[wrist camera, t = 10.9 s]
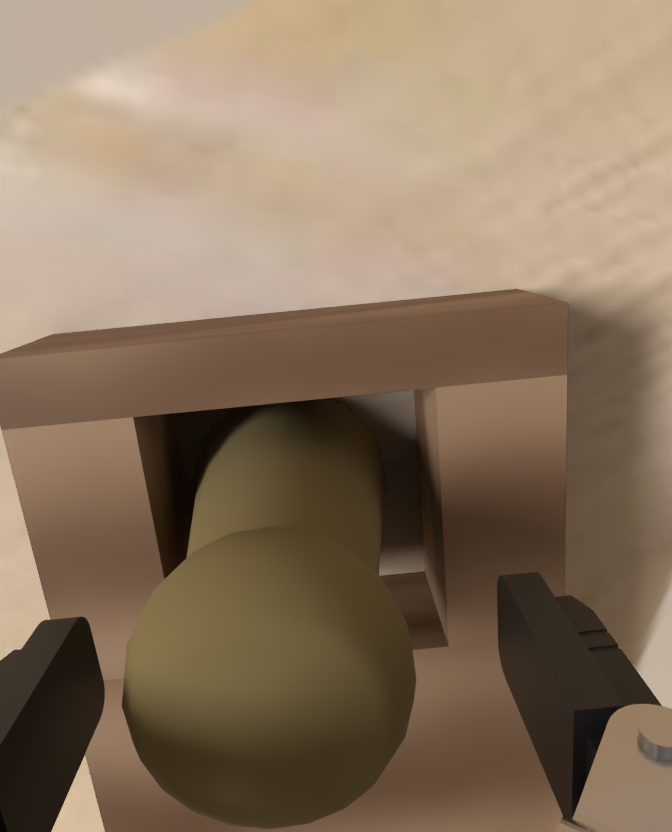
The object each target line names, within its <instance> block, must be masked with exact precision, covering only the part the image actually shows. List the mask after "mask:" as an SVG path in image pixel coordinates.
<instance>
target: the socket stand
mask: <svg viewBox="0 0 672 832" xmlns="http://www.w3.org/2000/svg"><path fill="white" fill-rule="evenodd" d="M567 356H568V303H565V302H561V301H558V300H554V299H550V298H547V297H543V296H540V295H536V294H532V293H529V292H525V291H521V290H518V289H513V290H503V291H493V292H483V293H472V294H462V295H452V296H442V297H431V298H421V299H411V300H401V301H390V302H380V303H370V304H359V305H349V306H339V307H329V308H318V309H308V310H298V311H288V312H277V313H267V314H257V315H247V316H236V317H226V318H216V319H206V320H195V321H185V322H175V323H165V324H154V325H144V326H134V327H124V328H113V329H103V330H93V331H83V332H72V333H62V334H52V335H50V336H47V337H44V338H42V339H39V340H36V341H34V342H31V343H28V344H26V345H23V346H20V347H18V348H15V349H12V350H10V351H7V352H5V353H2V354H0V426H1V430H2V434H3V438H4V442H5V445H6V449H7V453H8V457H9V461H10V465H11V469H12V473H13V476H14V480H15V484H16V488H17V492H18V496H19V500H20V504H21V507H22V511H23V515H24V519H25V523H26V527H27V531H28V535H29V538H30V542H31V546H32V550H33V554H34V558H35V562H36V566H37V569H38V573H39V577H40V581H41V585H42V589H43V593H44V597H45V600H46V604H47V608H48V612H49V616H50V620H53V619H63V618H72V617H85V618H86V619H87V620H88V622H89V624H90V628H91V632H92V636H93V640H94V644H95V648H96V652H97V656H98V660H99V664H100V668H101V672H102V676H103V680H104V687H105V700H104V708H103V712H102V716H101V718H100V721H99V723H98V725H97V728H96V730H95V732H94V735H93V737H92V739H91V741H90V744H89V746H88V748H87V751H86V753H85V755H86V759H87V763H88V767H89V771H90V775H91V779H92V783H93V786H94V790H95V794H96V798H97V802H98V806H99V810H100V814H101V818H102V821H103V825H104V829H105V832H555V830H556V827H557V825H558V823H559V821H560V820H561V819H562V812H561V810H560V808H559V805H558V803H557V800H556V798H555V796H554V793H553V791H552V788H551V786H550V784H549V781H548V779H547V777H546V774H545V772H544V769H543V767H542V765H541V762H540V760H539V757H538V755H537V753H536V750H535V748H534V746H533V743H532V741H531V738H530V736H529V734H528V731H527V729H526V726H525V724H524V722H523V719H522V717H521V715H520V712H519V710H518V707H517V705H516V703H515V700H514V698H513V695H512V693H511V691H510V688H509V686H508V684H507V681H506V679H505V676H504V673H503V669H502V666H501V661H500V655H499V648H498V615H497V580H498V577H499V576H500V575H510V574H520V573H530V572H538V573H539V574H540V575H541V576H542V578H543V579H544V581H545V583H546V584H547V586H548V587H549V589H550V590H551V592H552V593H553V595H554V596H555V597H558V596H565V520H566V438H567ZM407 390H414V394H415V410H416V427H417V444H418V461H419V478H420V495H421V511H422V528H423V545H424V562H425V572H421V573H411V574H401V575H391V576H380V578H381V579H382V580H383V582H384V583H385V584H386V586H387V587H388V589H389V591H390V592H391V594H392V596H393V598H394V600H395V602H396V603H397V605H398V607H399V609H400V611H401V613H402V614H403V616H404V618H405V620H406V623H407V626H408V630H409V634H410V638H411V643H412V650H413V657H414V665H415V672H416V679H417V680H416V687H415V695H414V702H413V707H412V711H411V715H410V719H409V723H408V728H407V732H406V736H405V739H404V740H403V742H402V743H401V745H400V746H399V748H398V749H397V751H396V752H395V754H394V755H393V757H392V759H391V760H390V762H389V763H388V765H387V766H386V768H385V769H384V771H383V772H382V774H381V775H380V777H379V778H378V780H377V781H376V783H375V784H374V786H372V787H371V788H370V789H369V790H367V791H366V792H365V793H364V794H362V795H361V796H360V797H359V798H357V799H356V800H355V801H354V802H352V803H351V804H350V805H349V806H347V807H346V808H345V809H343V810H340V811H338V812H335V813H333V814H331V815H328V816H326V817H323V818H321V819H319V820H316V821H314V822H312V823H309V824H302V825H295V826H288V827H281V828H275V829H263V828H253V827H243V826H233V825H228V824H225V823H223V822H220V821H217V820H214V819H212V818H209V817H206V816H203V815H201V814H198V813H195V812H193V811H191V810H190V809H189V808H187V807H186V806H184V805H183V804H182V803H180V802H179V801H177V800H176V799H175V798H173V797H172V796H170V795H169V794H168V793H166V792H165V791H163V790H162V789H161V787H160V786H159V785H158V783H157V782H156V781H155V779H154V778H153V777H152V775H151V774H150V773H149V771H148V770H147V769H146V767H145V766H144V765H143V763H142V762H141V761H140V758H139V756H138V754H137V751H136V749H135V747H134V744H133V741H132V738H131V735H130V732H129V728H128V725H127V722H126V718H125V715H124V712H123V709H122V697H123V685H124V672H125V660H126V648H127V643H128V641H129V639H130V637H131V635H132V633H133V631H134V629H135V627H136V625H137V623H138V621H139V619H140V617H141V615H142V613H143V611H144V609H145V607H146V605H147V603H148V601H149V599H150V597H151V595H152V593H153V590H154V589H155V588H156V587H157V586H158V585H159V584H160V583H161V582H162V581H163V580H164V579H165V578H166V577H167V576H168V575H169V574H171V573H172V572H173V571H174V570H175V569H176V568H177V567H178V566H179V565H180V564H181V563H182V562H183V561H184V560H185V559H186V558H187V551H188V545H189V538H190V531H191V524H192V517H193V510H192V505H191V499H190V493H189V487H188V482H187V476H186V470H185V464H184V459H183V453H182V447H181V441H180V435H179V430H178V424H177V418H176V413H182V412H192V411H202V410H212V409H223V408H233V407H243V406H253V405H263V404H274V403H284V402H294V401H304V400H315V399H325V398H335V397H345V396H356V395H366V394H376V393H386V392H397V391H407Z"/></svg>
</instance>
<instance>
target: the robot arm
mask: <svg viewBox="0 0 672 832" xmlns="http://www.w3.org/2000/svg"><path fill="white" fill-rule="evenodd" d="M497 615H498V648H499V655H500V661H501V666H502V669H503V673H504V676H505V679H506V681H507V684H508V686H509V688H510V691H511V693H512V695H513V698H514V700H515V703H516V705H517V707H518V710H519V712H520V715H521V717H522V719H523V722H524V724H525V726H526V729H527V731H528V734H529V736H530V738H531V741H532V743H533V746H534V748H535V750H536V753H537V755H538V757H539V760H540V762H541V765H542V767H543V769H544V772H545V774H546V777H547V779H548V781H549V784H550V786H551V788H552V791H553V793H554V796H555V798H556V800H557V803H558V805H559V808H560V810H561V812H562V815H563V818H562V819H561V820H560V821H559V823H558V825H557V827H556V830H555V832H672V709H670V708H667V707H663V706H662V705H661V704H660V703H659V701H658V700H657V698H656V697H655V696H654V695H653V693H652V692H651V690H650V689H649V687H648V686H647V685H646V683H645V682H644V680H643V679H642V678H641V676H640V675H639V674H638V672H637V671H636V669H635V668H634V667H633V665H632V664H631V662H630V661H629V660H628V658H627V657H626V656H625V654H624V653H623V651H622V650H621V649H619V648H618V644H617V643H616V642H615V640H614V639H613V637H612V636H611V635H610V633H607V629H606V628H605V626H604V625H603V624H602V622H601V621H600V619H599V618H598V617H597V615H596V614H595V613H594V611H593V610H592V609H590V608H589V607H587V606H586V605H584V604H583V603H581V602H580V601H578V600H577V599H575V598H574V597H572V596H571V595H568V596H558V597H555V596H554V595H553V593H552V592H551V590H550V589H549V587H548V586H547V584H546V583H545V581H544V579H543V578H542V576H541V575H540V574H539V573H538V572H530V573H520V574H510V575H500V576H499V577H498V580H497ZM104 700H105V687H104V680H103V676H102V672H101V668H100V664H99V660H98V656H97V652H96V648H95V644H94V640H93V636H92V632H91V628H90V624H89V622H88V620H87V619H86V618H85V617H72V618H63V619H53V620H44V621H42V622H41V623H40V624H39V625H38V626H37V628H36V629H35V631H34V632H33V634H32V635H31V636H30V638H29V639H28V641H27V642H26V644H25V645H24V647H23V648H22V649H21V650H13V651H12V652H11V653H10V654H8V655H7V656H6V657H5V658H3V659H2V660H1V661H0V832H51V831H52V828H53V826H54V824H55V821H56V819H57V817H58V815H59V812H60V810H61V808H62V805H63V803H64V801H65V799H66V796H67V794H68V792H69V789H70V787H71V785H72V783H73V780H74V778H75V776H76V773H77V771H78V769H79V767H80V764H81V762H82V760H83V757H84V755H85V753H86V751H87V748H88V746H89V744H90V741H91V739H92V737H93V735H94V732H95V730H96V728H97V725H98V723H99V721H100V718H101V716H102V712H103V708H104Z"/></svg>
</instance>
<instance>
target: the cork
mask: <svg viewBox="0 0 672 832" xmlns="http://www.w3.org/2000/svg"><path fill="white" fill-rule="evenodd" d="M384 487H385V475H384V468H383V461H382V454H381V451H380V449H379V447H378V445H377V443H376V441H375V439H374V437H373V435H372V433H371V431H370V429H369V427H368V426H367V425H366V424H365V423H364V422H363V421H362V420H360V419H359V418H358V417H357V416H356V415H355V414H354V413H353V412H352V411H351V410H350V409H349V408H348V407H347V406H345V405H343V404H341V403H338V402H336V401H334V400H332V399H330V398H325V399H315V400H304V401H294V402H284V403H274V404H263V405H253V406H243V407H234V408H233V409H232V410H231V411H230V412H229V413H228V414H227V415H226V416H225V417H224V418H223V419H222V420H221V421H220V422H219V423H218V424H217V425H216V426H215V427H214V429H213V431H212V433H211V435H210V437H209V439H208V441H207V443H206V445H205V447H204V449H203V451H202V455H201V462H200V468H199V475H198V482H197V489H196V496H195V503H194V510H193V517H192V524H191V531H190V538H189V545H188V551H187V558H186V559H185V560H184V561H183V562H182V563H181V564H180V565H179V566H178V567H177V568H176V569H175V570H174V571H173V572H172V573H171V574H169V575H168V576H167V577H166V578H165V579H164V580H163V581H162V582H161V583H160V584H159V585H158V586H157V587H156V588H155V589H154V590H153V593H152V595H151V597H150V599H149V601H148V603H147V605H146V607H145V609H144V611H143V613H142V615H141V617H140V619H139V621H138V623H137V625H136V627H135V629H134V631H133V633H132V635H131V637H130V639H129V641H128V643H127V648H126V660H125V672H124V685H123V697H122V709H123V712H124V715H125V718H126V722H127V725H128V728H129V732H130V735H131V738H132V741H133V744H134V747H135V749H136V751H137V754H138V756H139V758H140V761H141V762H142V763H143V765H144V766H145V767H146V769H147V770H148V771H149V773H150V774H151V775H152V777H153V778H154V779H155V781H156V782H157V783H158V785H159V786H160V787H161V789H162V790H163V791H165V792H166V793H168V794H169V795H170V796H172V797H173V798H175V799H176V800H177V801H179V802H180V803H182V804H183V805H184V806H186V807H187V808H189V809H190V810H191V811H193V812H195V813H198V814H201V815H203V816H206V817H209V818H212V819H214V820H217V821H220V822H223V823H225V824H228V825H233V826H243V827H253V828H263V829H275V828H281V827H288V826H295V825H302V824H309V823H312V822H314V821H316V820H319V819H321V818H323V817H326V816H328V815H331V814H333V813H335V812H338V811H340V810H343V809H345V808H346V807H347V806H349V805H350V804H351V803H352V802H354V801H355V800H356V799H357V798H359V797H360V796H361V795H362V794H364V793H365V792H366V791H367V790H369V789H370V788H371V787H372V786H374V784H375V783H376V781H377V780H378V778H379V777H380V775H381V774H382V772H383V771H384V769H385V768H386V766H387V765H388V763H389V762H390V760H391V759H392V757H393V755H394V754H395V752H396V751H397V749H398V748H399V746H400V745H401V743H402V742H403V740H404V739H405V736H406V732H407V728H408V723H409V719H410V715H411V711H412V707H413V702H414V695H415V687H416V680H417V679H416V672H415V665H414V657H413V650H412V643H411V638H410V634H409V630H408V626H407V623H406V620H405V618H404V616H403V614H402V613H401V611H400V609H399V607H398V605H397V603H396V602H395V600H394V598H393V596H392V594H391V592H390V591H389V589H388V587H387V586H386V584H385V583H384V582H383V580H382V579H381V578H380V576H379V562H380V547H381V532H382V517H383V502H384Z"/></svg>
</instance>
